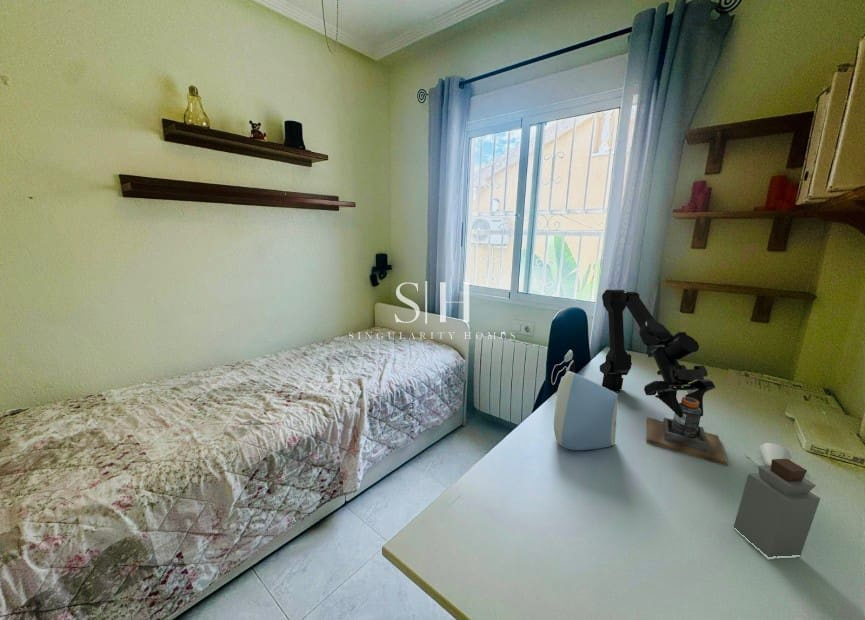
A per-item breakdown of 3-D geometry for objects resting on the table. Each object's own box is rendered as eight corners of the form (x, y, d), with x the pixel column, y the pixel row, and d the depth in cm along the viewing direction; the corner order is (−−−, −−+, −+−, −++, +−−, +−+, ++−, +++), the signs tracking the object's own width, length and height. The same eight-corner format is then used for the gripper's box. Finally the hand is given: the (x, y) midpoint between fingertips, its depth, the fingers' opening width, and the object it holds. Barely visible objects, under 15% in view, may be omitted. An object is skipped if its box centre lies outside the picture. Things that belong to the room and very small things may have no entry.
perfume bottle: (733, 528, 69) (754, 453, 64) (762, 526, 69) (785, 452, 65) (767, 559, 62) (793, 478, 58) (799, 557, 63) (827, 477, 58)
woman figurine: (808, 450, 88) (812, 489, 76) (803, 463, 89) (806, 504, 77) (749, 430, 96) (743, 463, 84) (745, 443, 97) (739, 477, 85)
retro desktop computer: (571, 345, 104) (631, 359, 93) (572, 401, 114) (626, 420, 102) (533, 391, 89) (599, 414, 77) (538, 452, 98) (596, 480, 87)
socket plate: (646, 442, 96) (648, 431, 96) (646, 420, 108) (648, 410, 107) (726, 466, 87) (729, 453, 86) (717, 439, 99) (719, 428, 98)
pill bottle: (694, 432, 98) (702, 398, 95) (696, 443, 93) (705, 407, 91) (670, 426, 101) (677, 392, 99) (671, 435, 96) (679, 401, 94)
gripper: (658, 355, 95) (682, 410, 87) (717, 354, 96) (745, 408, 88) (634, 369, 104) (654, 420, 96) (688, 368, 106) (712, 417, 98)
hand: (691, 416), depth 94 cm, fingers closed on pill bottle, 6 cm apart
